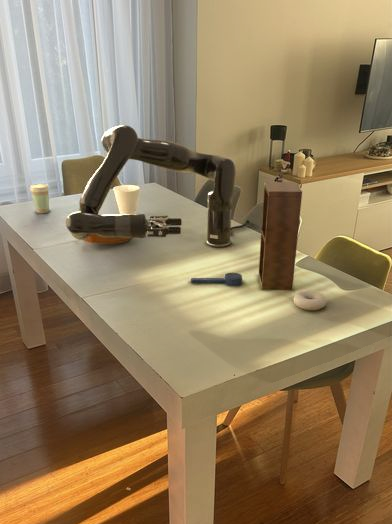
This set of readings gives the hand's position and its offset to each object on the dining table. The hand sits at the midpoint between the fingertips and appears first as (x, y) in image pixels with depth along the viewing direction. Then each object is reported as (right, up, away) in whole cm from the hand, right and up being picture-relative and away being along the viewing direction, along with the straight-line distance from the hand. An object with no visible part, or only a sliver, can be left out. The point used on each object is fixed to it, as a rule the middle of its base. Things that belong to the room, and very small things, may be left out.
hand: (181, 226), depth 173 cm
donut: (+40, -26, -5) cm, 48 cm away
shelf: (+31, -17, +10) cm, 37 cm away
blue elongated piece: (+12, -17, +10) cm, 23 cm away
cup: (-27, +22, +76) cm, 84 cm away
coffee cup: (-67, +25, +81) cm, 108 cm away
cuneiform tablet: (-32, +4, +45) cm, 55 cm away
